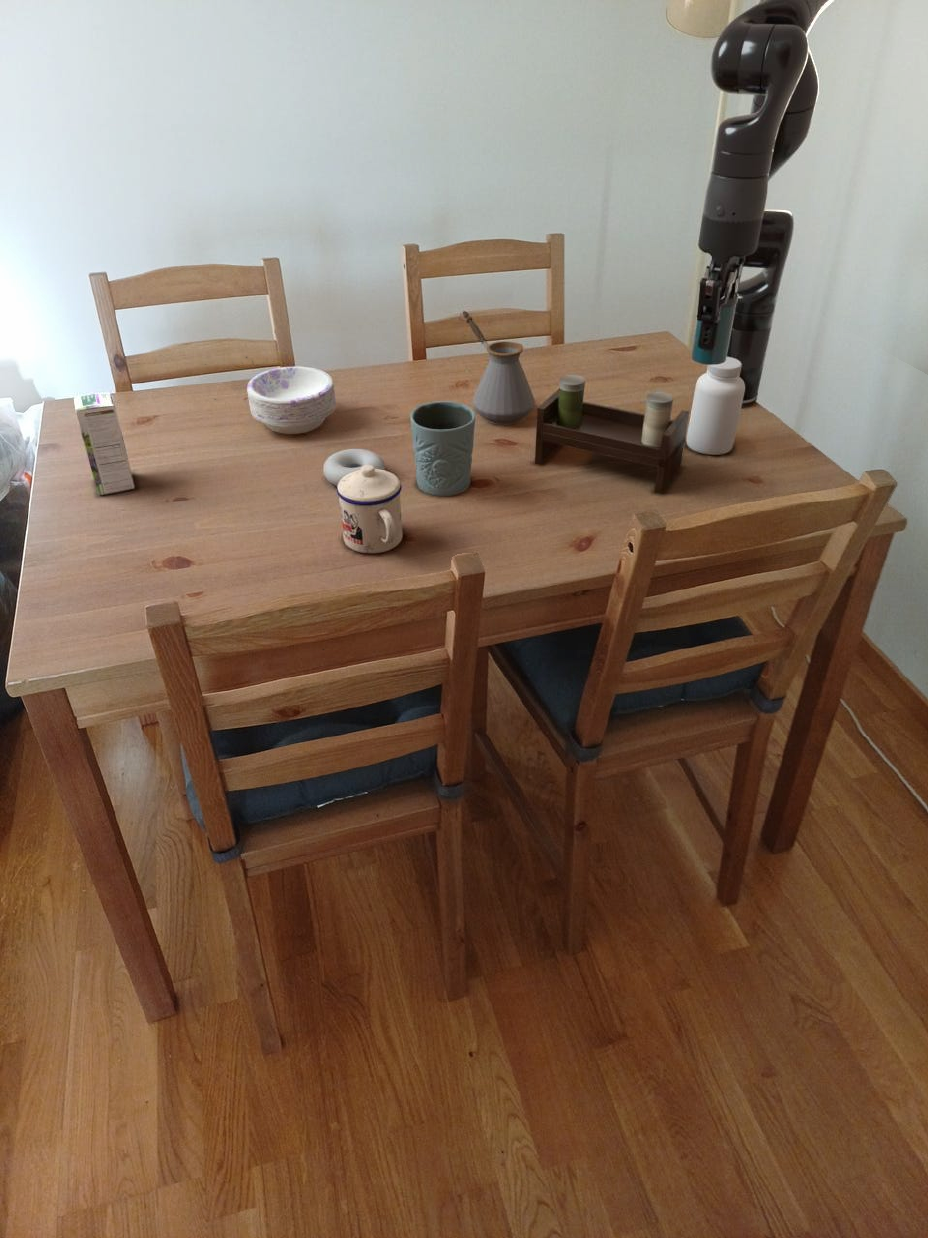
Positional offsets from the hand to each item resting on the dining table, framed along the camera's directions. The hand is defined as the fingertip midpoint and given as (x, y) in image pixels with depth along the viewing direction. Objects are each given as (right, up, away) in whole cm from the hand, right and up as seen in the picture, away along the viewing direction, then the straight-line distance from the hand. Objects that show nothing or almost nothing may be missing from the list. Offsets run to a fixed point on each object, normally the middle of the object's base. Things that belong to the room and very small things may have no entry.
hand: (711, 341), depth 123 cm
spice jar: (0, -2, +1) cm, 2 cm away
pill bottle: (+8, -9, +29) cm, 32 cm away
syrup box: (-91, -17, +20) cm, 95 cm away
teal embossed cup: (-38, -17, +19) cm, 46 cm away
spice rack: (-11, -13, +24) cm, 29 cm away
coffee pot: (-30, +1, +43) cm, 52 cm away
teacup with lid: (-47, -28, +5) cm, 55 cm away
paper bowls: (-65, -3, +37) cm, 75 cm away
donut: (-52, -16, +21) cm, 59 cm away
